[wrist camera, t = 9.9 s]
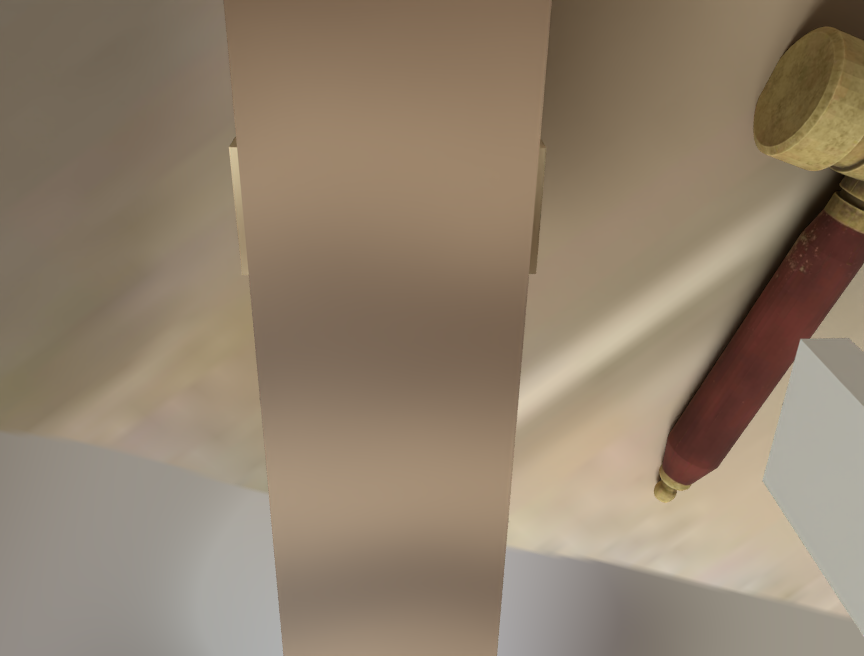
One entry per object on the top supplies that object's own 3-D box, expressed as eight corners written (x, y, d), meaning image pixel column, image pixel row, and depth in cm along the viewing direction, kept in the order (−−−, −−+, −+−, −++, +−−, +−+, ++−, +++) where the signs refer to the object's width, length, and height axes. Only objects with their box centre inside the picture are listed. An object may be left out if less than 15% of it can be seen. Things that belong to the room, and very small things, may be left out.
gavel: (768, 559, 38) (573, 508, 36) (734, 490, 42) (556, 440, 40) (1107, 145, 28) (861, 41, 26) (1020, 105, 31) (801, 12, 29)
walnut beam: (265, -251, 17) (193, -336, 10) (508, -242, 17) (578, -321, 11) (311, 513, 26) (288, 706, 20) (468, 510, 26) (492, 700, 20)
